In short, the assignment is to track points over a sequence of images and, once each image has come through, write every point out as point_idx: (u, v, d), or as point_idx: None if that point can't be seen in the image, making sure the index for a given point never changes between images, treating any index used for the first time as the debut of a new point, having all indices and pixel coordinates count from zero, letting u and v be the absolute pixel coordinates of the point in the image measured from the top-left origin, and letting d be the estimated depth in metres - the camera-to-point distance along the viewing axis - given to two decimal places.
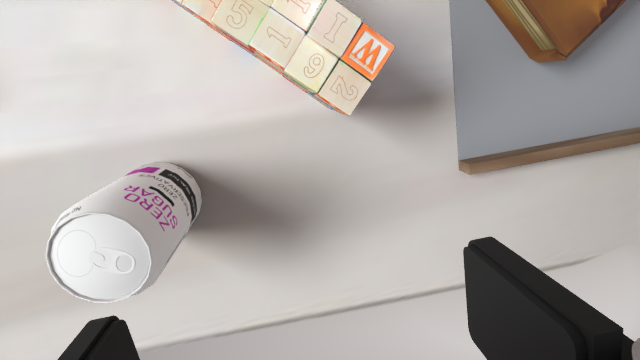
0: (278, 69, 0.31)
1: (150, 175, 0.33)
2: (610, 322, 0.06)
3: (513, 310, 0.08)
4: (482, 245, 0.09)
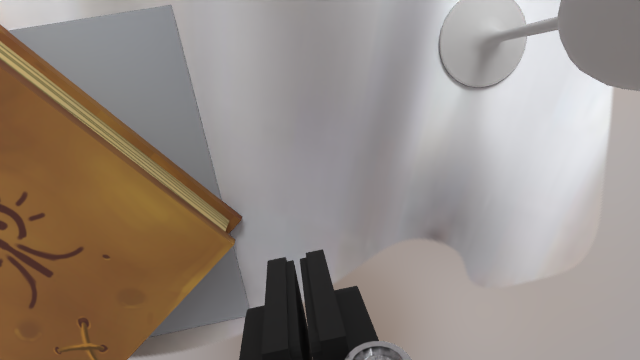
0: None
1: None
2: (342, 330, 0.07)
3: None
4: (308, 258, 0.10)
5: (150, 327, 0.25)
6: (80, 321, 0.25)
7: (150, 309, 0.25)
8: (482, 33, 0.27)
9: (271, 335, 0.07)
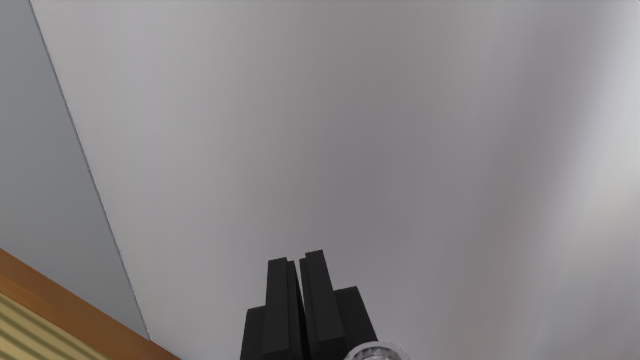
0: None
1: None
2: (341, 330, 0.07)
3: None
4: (308, 258, 0.10)
5: None
6: None
7: None
8: None
9: (272, 335, 0.07)
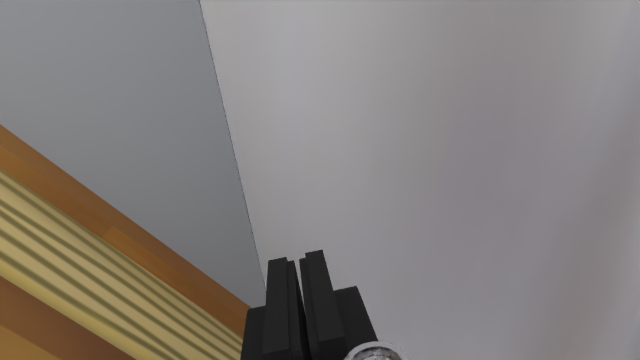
0: None
1: None
2: (341, 330, 0.07)
3: None
4: (308, 258, 0.10)
5: None
6: None
7: None
8: None
9: (272, 335, 0.07)
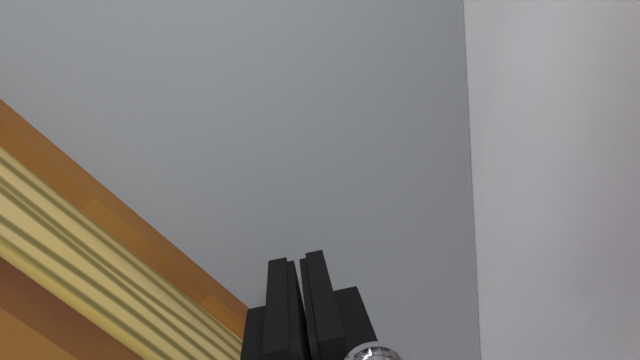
0: None
1: None
2: (341, 330, 0.07)
3: None
4: (308, 258, 0.10)
5: None
6: None
7: None
8: None
9: (272, 335, 0.07)
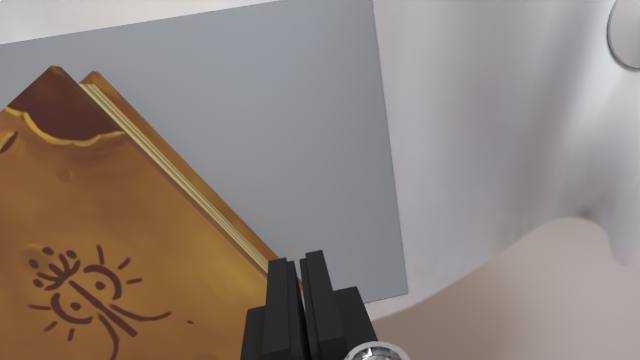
0: None
1: None
2: (341, 330, 0.07)
3: None
4: (308, 258, 0.10)
5: None
6: None
7: None
8: None
9: (272, 335, 0.07)
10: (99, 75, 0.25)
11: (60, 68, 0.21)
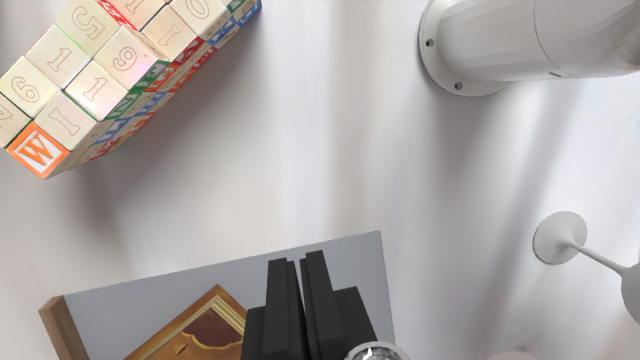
0: None
1: None
2: (341, 330, 0.07)
3: None
4: (307, 258, 0.10)
5: None
6: None
7: None
8: (561, 239, 0.44)
9: (272, 335, 0.07)
10: (219, 286, 0.42)
11: (211, 309, 0.37)
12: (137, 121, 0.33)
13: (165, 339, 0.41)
